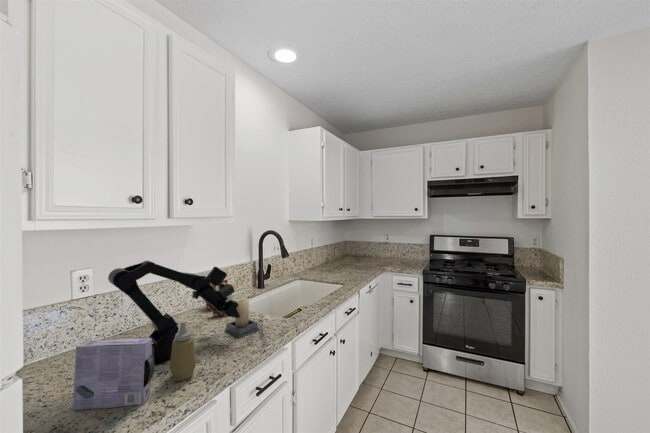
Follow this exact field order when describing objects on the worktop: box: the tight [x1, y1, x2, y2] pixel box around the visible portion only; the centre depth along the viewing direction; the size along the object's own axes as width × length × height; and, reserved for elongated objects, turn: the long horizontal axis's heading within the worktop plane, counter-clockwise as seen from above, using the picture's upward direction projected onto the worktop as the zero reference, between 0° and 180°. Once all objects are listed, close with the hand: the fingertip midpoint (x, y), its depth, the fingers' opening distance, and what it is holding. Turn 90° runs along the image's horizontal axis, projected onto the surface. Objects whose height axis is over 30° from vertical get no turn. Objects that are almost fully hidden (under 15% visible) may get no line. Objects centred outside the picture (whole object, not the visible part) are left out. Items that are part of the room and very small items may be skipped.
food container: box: [212, 293, 234, 318], centre depth 149 cm, size 12×6×10 cm, turn 143°
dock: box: [224, 318, 260, 339], centre depth 130 cm, size 11×11×4 cm
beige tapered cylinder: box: [234, 298, 250, 328], centre depth 129 cm, size 6×6×13 cm
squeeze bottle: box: [169, 321, 197, 381], centre depth 93 cm, size 8×8×18 cm
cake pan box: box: [72, 337, 156, 412], centre depth 80 cm, size 19×5×18 cm, turn 99°
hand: (233, 314), depth 126 cm, fingers open, 9 cm apart
